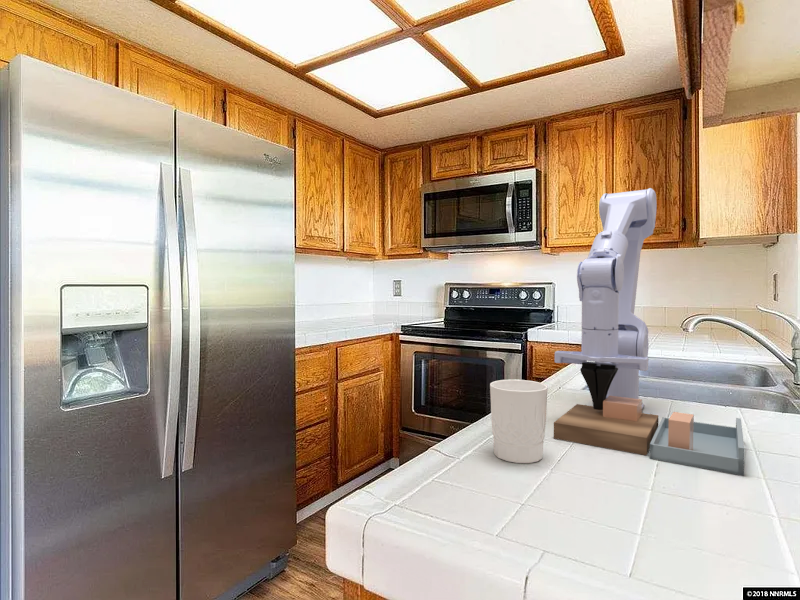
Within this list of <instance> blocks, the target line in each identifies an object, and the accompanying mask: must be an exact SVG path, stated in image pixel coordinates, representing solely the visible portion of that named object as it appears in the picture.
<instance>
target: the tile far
mask: <svg viewBox="0 0 800 600" xmlns="http://www.w3.org/2000/svg"><path fill="white" fill-rule="evenodd" d="M642 404H643V399H641V398H639V399H635V398H626V397H618V396H608V397H607V398H606V399H605V400H604V401H603V417H610V418H617V419H624V420H630V421H637V420H638V419H639V418H640V416H641V415H642V413H643V409H642Z"/></svg>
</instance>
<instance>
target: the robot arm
mask: <svg viewBox="0 0 800 600" xmlns="http://www.w3.org/2000/svg"><path fill="white" fill-rule="evenodd" d="M657 202H658V200H657V194H656V191H655V190H654V189H653V188H651V187H649V188H647V189H646V188H645V189H640V190H631V191H622V192H613V193H606V192H605V193H603V194H602V196H601V197H600V199H599V202H598V203H599V205H598V211H599V212H598V214H599V219H600V221H601V226H602V230H603V231H600V232H598V234H596V235H595V237H594V239H593V242H592V245H591V248H590V250H589V253H588V256H587V258H585V259H584V260H583V261H580V262H579V263H578V266H577V270H576V272H577V273H576V281H577V287H578V298H579V301H580V302H581V351H573V350H571V351H569V350H568V351H567V350H556V351H554V363H556V364H571V365H573V364H574V365H581V368H580V375H582V377H583V380H584V381H585V383H586V387H587V388H588V390H589V393H590V397H591V402H592V406H593V408H594V409H596V410H603V401H604V400H605V399H606V398H607V397H608V396H618V397H626V398H635V399H640V395H639V394H640V393H639V391H640V389H639V388H640V384H639V383H640V375H639V371H643V372H646V371H648V370H649V357H648V355H649V347H650V345H649V329H648V326H647V324H646V322H645V321H644V320H642V319H641V318H639V317H638V316H637V315H636V314H635V306H636V298H637V289H638V282H639V281H638V280H639V279H638V278H639V270H640V259H641V253H642V248H643V245H644V241H645V240H646V239H647V238H648V237H650V236H653V234H654V230H655V227H656V220H657V219H656V218H657V205H658V204H657ZM644 407H645V404H644V403H642V410H643V409H644Z"/></svg>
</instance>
